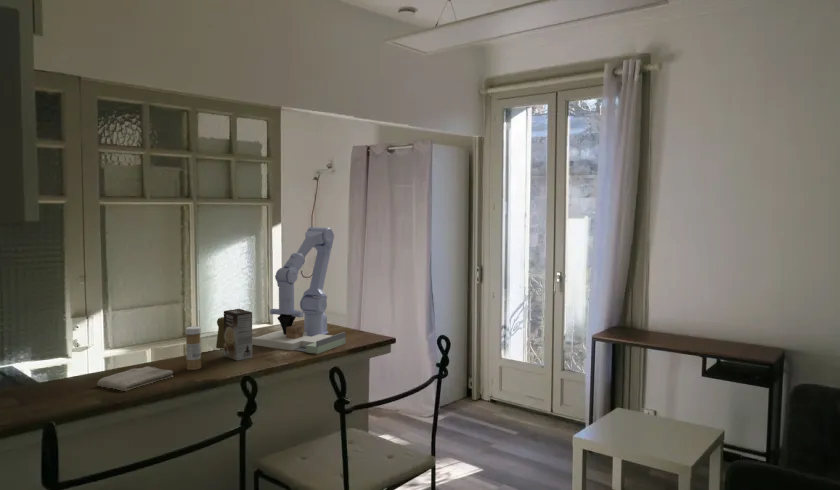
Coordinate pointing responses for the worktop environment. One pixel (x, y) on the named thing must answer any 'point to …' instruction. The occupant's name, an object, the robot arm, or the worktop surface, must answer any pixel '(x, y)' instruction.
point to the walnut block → (294, 332)
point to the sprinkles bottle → (193, 347)
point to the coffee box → (238, 334)
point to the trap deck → (301, 342)
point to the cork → (220, 333)
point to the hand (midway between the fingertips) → (286, 334)
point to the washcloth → (134, 378)
